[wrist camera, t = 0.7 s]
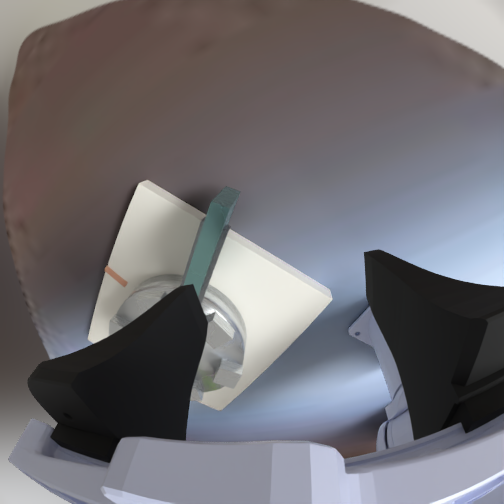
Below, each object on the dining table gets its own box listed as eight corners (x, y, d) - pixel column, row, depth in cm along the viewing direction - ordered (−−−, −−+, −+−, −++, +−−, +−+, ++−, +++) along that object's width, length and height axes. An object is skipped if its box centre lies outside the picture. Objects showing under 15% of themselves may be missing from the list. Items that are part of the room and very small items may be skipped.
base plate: (329, 289, 23) (333, 300, 21) (222, 401, 30) (220, 412, 28) (145, 178, 20) (136, 182, 19) (92, 330, 27) (86, 339, 26)
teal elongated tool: (223, 386, 26) (215, 423, 22) (122, 345, 25) (102, 376, 21) (311, 219, 19) (321, 245, 14) (159, 160, 18) (126, 169, 13)
